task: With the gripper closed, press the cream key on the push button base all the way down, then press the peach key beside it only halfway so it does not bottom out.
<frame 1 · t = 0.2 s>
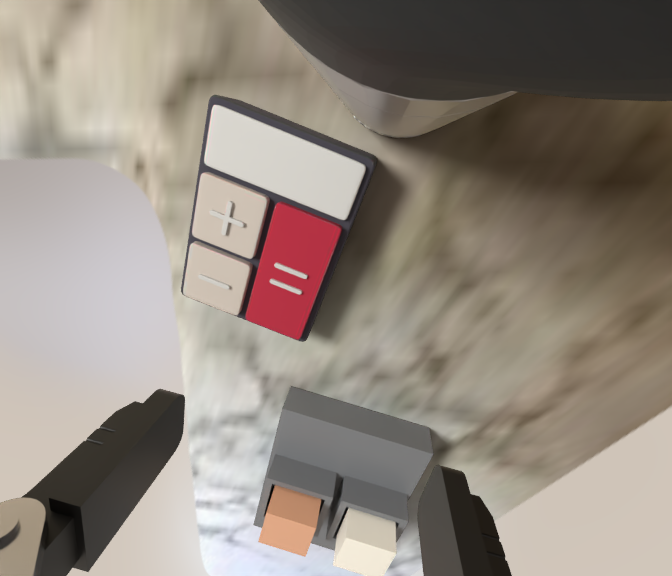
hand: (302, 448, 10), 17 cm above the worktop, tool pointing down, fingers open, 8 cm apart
calculator: (279, 225, 26), on the worktop
cream key: (364, 543, 29), point 7 cm above the worktop, slide at 0.0 cm
peach key: (290, 520, 29), point 7 cm above the worktop, slide at 0.0 cm
push button base: (336, 467, 35), on the worktop
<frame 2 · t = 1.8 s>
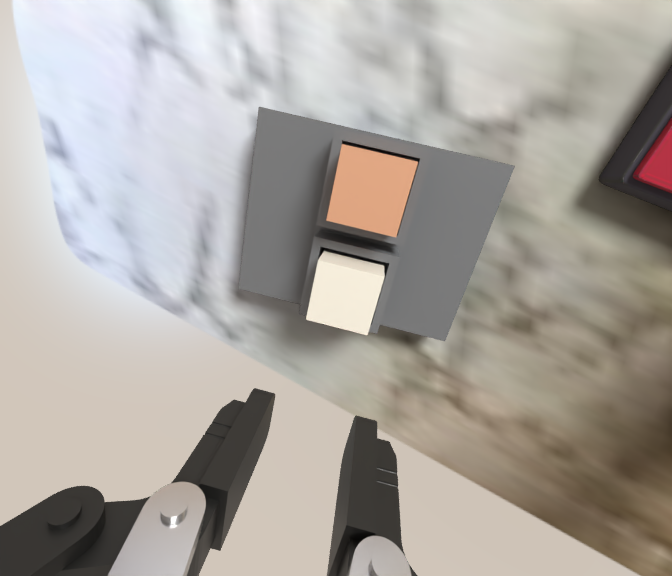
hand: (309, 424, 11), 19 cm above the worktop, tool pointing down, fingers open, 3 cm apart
cream key: (345, 292, 23), point 7 cm above the worktop, slide at 0.0 cm
peach key: (370, 191, 20), point 7 cm above the worktop, slide at 0.0 cm
push button base: (362, 227, 27), on the worktop
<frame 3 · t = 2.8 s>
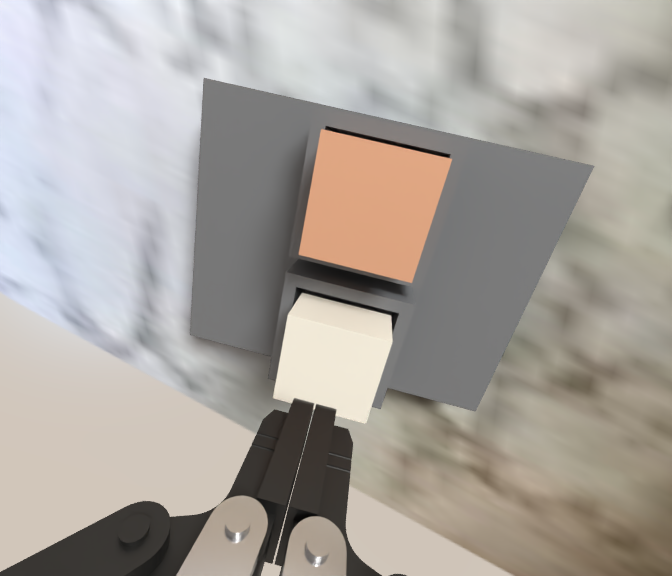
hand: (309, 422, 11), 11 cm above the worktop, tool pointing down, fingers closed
cream key: (332, 356, 15), point 7 cm above the worktop, slide at 0.0 cm
peach key: (370, 206, 13), point 7 cm above the worktop, slide at 0.0 cm
push button base: (360, 251, 20), on the worktop
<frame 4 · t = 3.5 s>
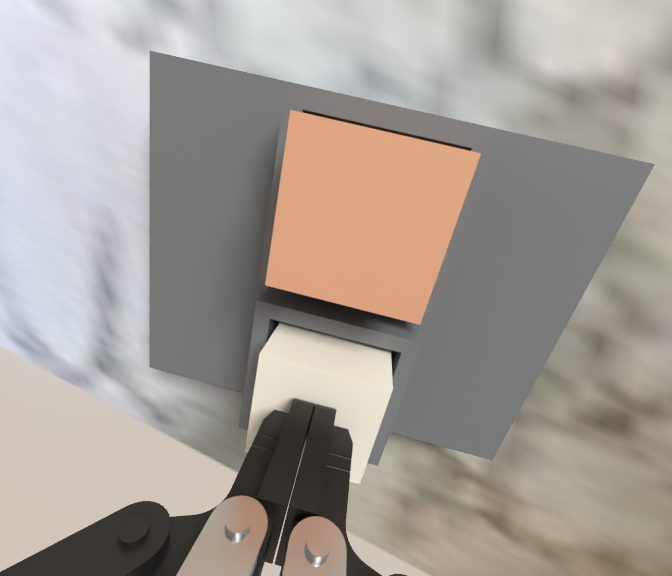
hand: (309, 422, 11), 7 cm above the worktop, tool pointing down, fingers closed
cream key: (319, 398, 12), point 6 cm above the worktop, slide at 0.5 cm, touching gripper
peach key: (363, 219, 9), point 7 cm above the worktop, slide at 0.0 cm
push button base: (353, 267, 17), on the worktop
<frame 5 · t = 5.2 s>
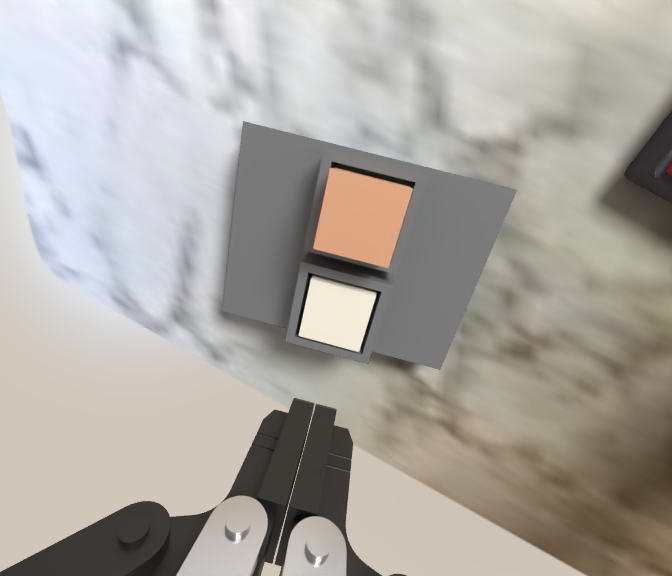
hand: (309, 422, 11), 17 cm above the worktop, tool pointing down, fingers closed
cream key: (337, 309, 23), point 4 cm above the worktop, slide at 2.1 cm
peach key: (361, 216, 19), point 7 cm above the worktop, slide at 0.0 cm
push button base: (354, 248, 26), on the worktop
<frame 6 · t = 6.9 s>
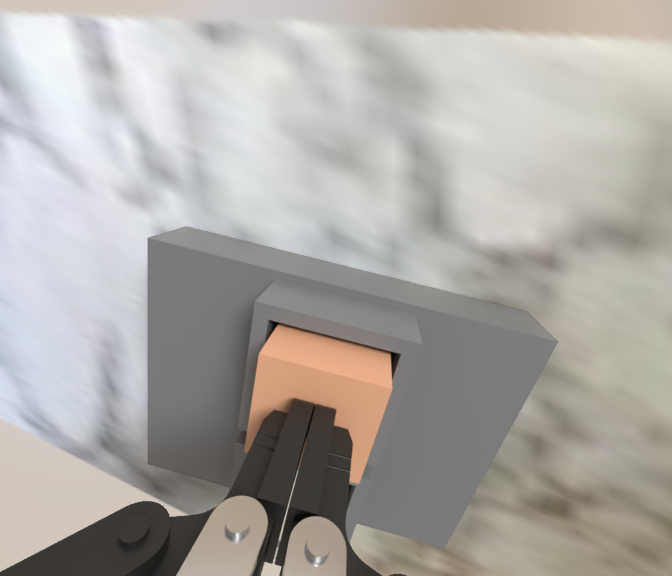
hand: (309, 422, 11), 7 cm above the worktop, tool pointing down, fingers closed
cream key: (297, 488, 16), point 4 cm above the worktop, slide at 2.1 cm
peach key: (318, 398, 12), point 6 cm above the worktop, slide at 0.6 cm, touching gripper
push button base: (325, 377, 19), on the worktop
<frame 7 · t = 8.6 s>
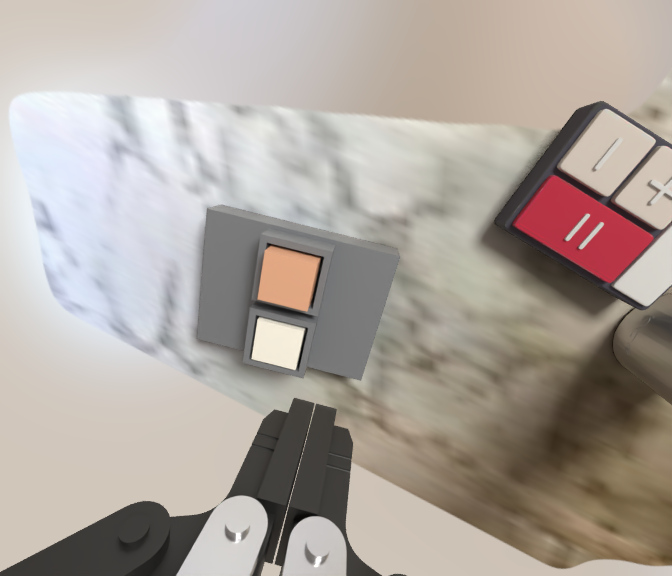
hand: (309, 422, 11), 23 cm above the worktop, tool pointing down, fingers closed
calculator: (596, 209, 29), on the worktop
cream key: (280, 338, 32), point 4 cm above the worktop, slide at 2.1 cm
peach key: (290, 277, 28), point 6 cm above the worktop, slide at 0.9 cm
push button base: (296, 290, 34), on the worktop
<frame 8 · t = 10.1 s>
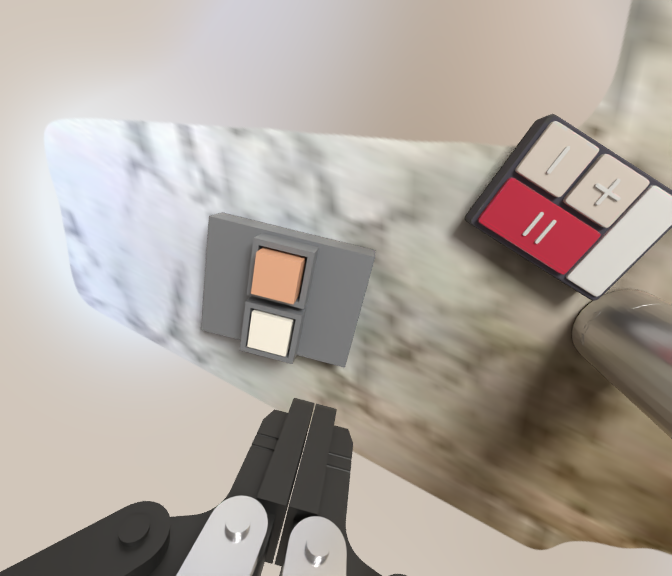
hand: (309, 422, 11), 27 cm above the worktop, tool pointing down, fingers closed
calculator: (556, 210, 33), on the worktop
cream key: (272, 329, 36), point 4 cm above the worktop, slide at 2.1 cm
peach key: (278, 274, 32), point 6 cm above the worktop, slide at 0.9 cm
push button base: (288, 287, 39), on the worktop
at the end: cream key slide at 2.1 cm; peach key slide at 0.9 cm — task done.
